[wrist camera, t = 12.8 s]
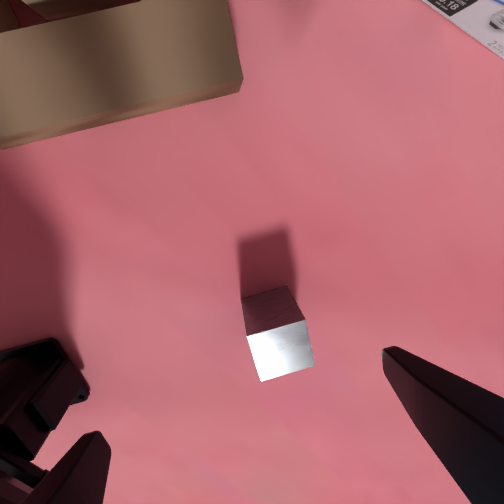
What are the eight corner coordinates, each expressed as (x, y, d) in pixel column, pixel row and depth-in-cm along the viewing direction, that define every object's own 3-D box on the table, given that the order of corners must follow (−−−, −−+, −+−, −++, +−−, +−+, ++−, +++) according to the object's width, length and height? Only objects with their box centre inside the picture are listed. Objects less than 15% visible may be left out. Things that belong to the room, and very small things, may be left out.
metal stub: (252, 336, 23) (261, 381, 18) (240, 298, 22) (246, 336, 17) (295, 324, 23) (315, 365, 19) (286, 285, 22) (305, 319, 17)
